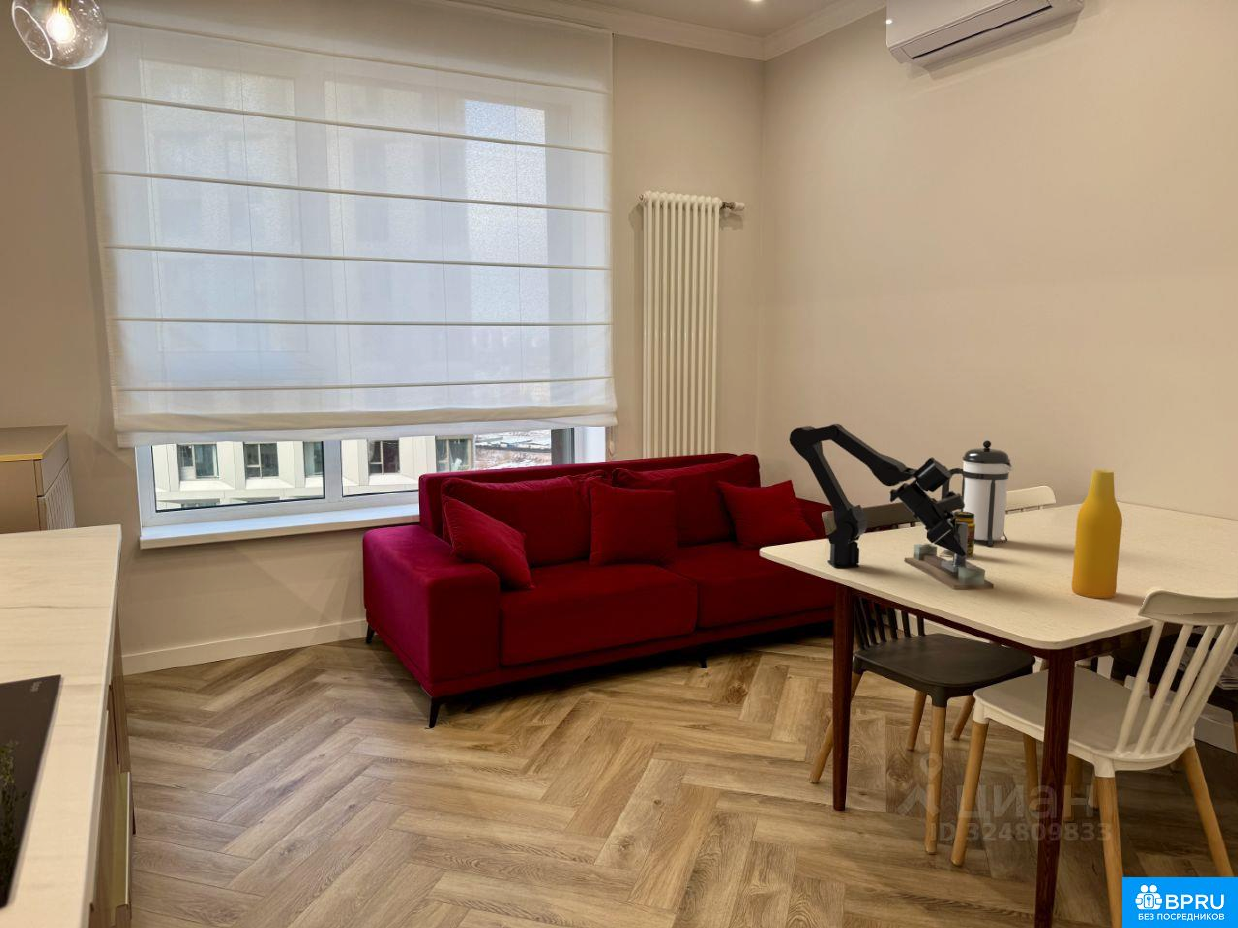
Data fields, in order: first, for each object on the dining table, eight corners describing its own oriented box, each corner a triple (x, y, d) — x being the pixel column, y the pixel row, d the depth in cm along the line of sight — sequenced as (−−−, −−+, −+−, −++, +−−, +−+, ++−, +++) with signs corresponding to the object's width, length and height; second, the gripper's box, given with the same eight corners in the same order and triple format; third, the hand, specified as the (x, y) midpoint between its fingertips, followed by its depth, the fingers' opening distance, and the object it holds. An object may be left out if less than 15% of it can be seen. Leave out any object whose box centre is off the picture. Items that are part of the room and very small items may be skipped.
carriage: (953, 572, 213) (956, 526, 211) (941, 566, 219) (944, 521, 217) (976, 571, 213) (979, 525, 212) (964, 565, 219) (967, 520, 218)
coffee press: (997, 535, 267) (1004, 437, 263) (1015, 548, 251) (1023, 443, 247) (938, 534, 269) (944, 436, 264) (953, 546, 253) (959, 442, 249)
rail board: (954, 589, 208) (955, 569, 208) (904, 561, 235) (905, 543, 234) (993, 588, 210) (995, 568, 209) (939, 560, 236) (940, 542, 235)
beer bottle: (1101, 587, 210) (1111, 468, 206) (1124, 599, 201) (1135, 474, 197) (1063, 588, 210) (1072, 468, 206) (1084, 599, 201) (1095, 474, 197)
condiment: (972, 559, 237) (975, 516, 236) (939, 555, 241) (942, 513, 240) (976, 554, 244) (978, 511, 242) (944, 550, 248) (946, 508, 246)
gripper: (943, 487, 206) (992, 537, 203) (946, 476, 223) (991, 522, 221) (907, 518, 210) (954, 567, 207) (912, 505, 227) (956, 550, 225)
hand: (965, 550), depth 215 cm, fingers open, 9 cm apart
